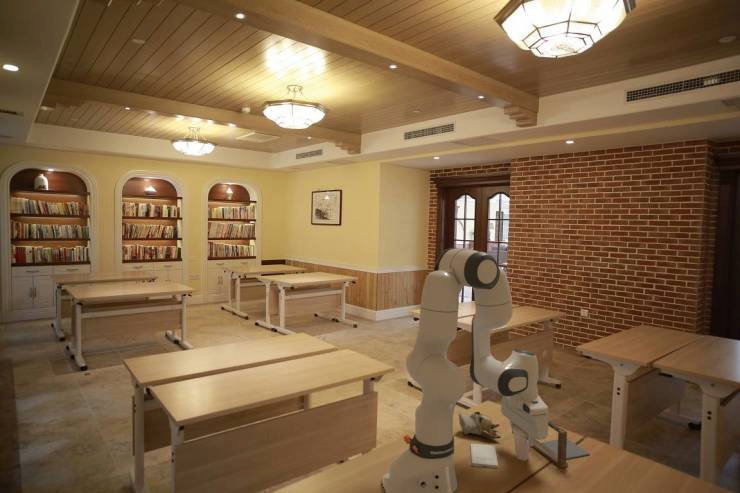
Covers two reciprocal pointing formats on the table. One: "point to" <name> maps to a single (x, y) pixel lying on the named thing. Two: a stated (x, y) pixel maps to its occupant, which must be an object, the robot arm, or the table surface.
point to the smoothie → (521, 443)
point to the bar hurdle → (562, 446)
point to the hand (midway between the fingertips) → (522, 439)
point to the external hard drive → (484, 456)
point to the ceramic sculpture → (478, 425)
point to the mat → (571, 450)
